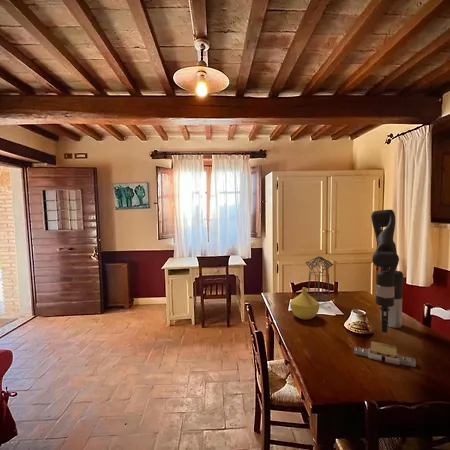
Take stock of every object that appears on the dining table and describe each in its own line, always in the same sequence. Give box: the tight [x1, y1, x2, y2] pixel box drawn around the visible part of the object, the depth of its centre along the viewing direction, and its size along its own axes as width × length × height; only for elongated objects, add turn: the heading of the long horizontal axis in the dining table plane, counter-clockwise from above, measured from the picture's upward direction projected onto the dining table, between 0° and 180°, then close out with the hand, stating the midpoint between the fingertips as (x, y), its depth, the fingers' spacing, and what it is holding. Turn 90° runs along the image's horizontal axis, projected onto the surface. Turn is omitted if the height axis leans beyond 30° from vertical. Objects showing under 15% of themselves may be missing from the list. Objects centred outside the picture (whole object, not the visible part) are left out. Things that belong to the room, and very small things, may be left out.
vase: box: [289, 286, 320, 320], centre depth 185 cm, size 18×18×19 cm
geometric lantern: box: [305, 255, 334, 306], centre depth 212 cm, size 16×16×35 cm
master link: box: [370, 340, 398, 358], centre depth 133 cm, size 3×10×6 cm, turn 61°
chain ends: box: [353, 346, 417, 368], centre depth 133 cm, size 6×25×3 cm, turn 61°
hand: (384, 328), depth 132 cm, fingers open, 8 cm apart
